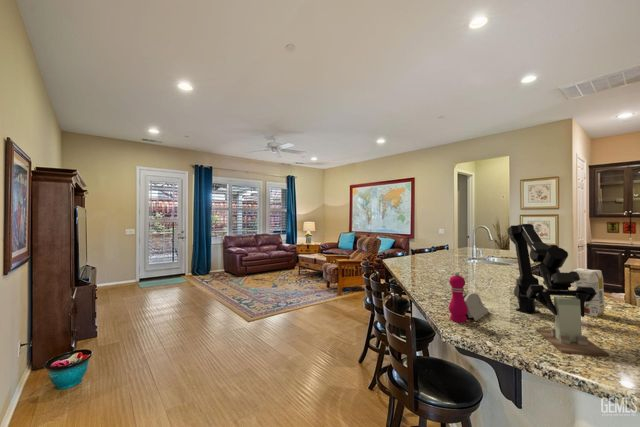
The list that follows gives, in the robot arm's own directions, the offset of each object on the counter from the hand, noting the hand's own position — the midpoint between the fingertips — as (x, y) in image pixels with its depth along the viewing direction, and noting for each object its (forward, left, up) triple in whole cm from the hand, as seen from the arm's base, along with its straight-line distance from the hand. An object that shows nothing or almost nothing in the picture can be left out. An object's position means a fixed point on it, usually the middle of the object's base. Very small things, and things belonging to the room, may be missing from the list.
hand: (569, 315), depth 95 cm
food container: (-38, -37, -10) cm, 54 cm away
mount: (-1, -1, -9) cm, 9 cm away
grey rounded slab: (+2, -35, -10) cm, 37 cm away
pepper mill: (+13, -33, -10) cm, 37 cm away
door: (-1, -1, -9) cm, 9 cm away
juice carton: (-42, -13, -10) cm, 45 cm away
